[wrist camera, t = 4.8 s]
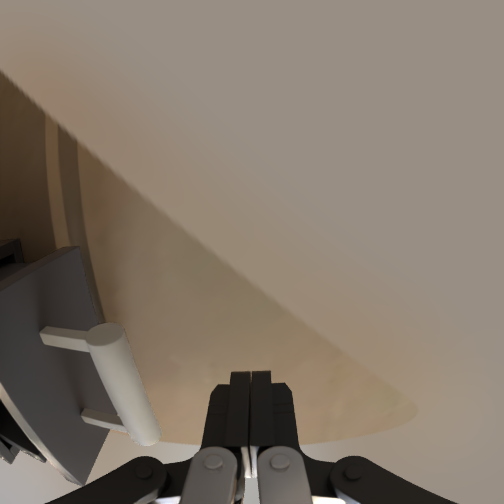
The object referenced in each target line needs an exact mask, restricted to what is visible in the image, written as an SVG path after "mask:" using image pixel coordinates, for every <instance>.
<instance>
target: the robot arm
mask: <svg viewBox="0 0 504 504" xmlns="http://www.w3.org/2000/svg"><path fill="white" fill-rule="evenodd" d="M252 468H253V477H254V478H256V477H257V479H258V489H259V499H260V504H457V503H455V502H452V501H450V500H448V499H445V498H443V497H440V496H438V495H436V494H434V493H431V492H429V491H427V490H425V489H423V488H421V487H418V486H416V485H414V484H412V483H410V482H408V481H406V480H404V479H403V478H401V477H399V476H397V475H395V474H393V473H391V472H389V471H387V470H386V469H383V468H382V467H380V466H378V465H376V464H375V463H373V462H371V461H370V460H368V459H366V458H364V457H361V456H348V457H345V458H342V459H340V460H338V461H337V462H336V463H334V462H325V461H318V460H314V459H312V458H310V457H308V456H306V455H305V454H304V453H303V452H302V450H301V449H300V446H299V442H298V434H297V426H296V419H295V413H294V404H293V397H292V391H291V390H290V389H289V387H288V386H287V385H286V383H271V371H252V379H251V372H250V371H243V372H231V377H230V385H229V384H218V385H217V386H216V388H215V389H214V390H213V391H212V393H211V395H210V401H209V406H208V411H207V417H206V422H205V428H204V433H203V439H202V444H201V448H200V450H199V451H198V452H197V453H196V454H195V455H194V457H192V458H190V459H188V460H186V461H182V462H176V463H169V464H162V462H160V461H159V460H158V459H156V458H153V457H149V456H141V457H137V458H135V459H132V460H131V461H129V462H127V463H126V464H124V465H122V466H120V467H119V468H117V469H116V470H113V471H112V472H110V473H108V474H106V475H104V476H102V477H100V478H99V479H97V480H95V481H93V482H91V483H89V484H87V485H85V486H83V487H81V488H79V489H77V490H75V491H72V492H70V493H68V494H66V495H64V496H62V497H60V498H57V499H55V500H52V501H50V502H48V503H45V504H243V498H244V491H245V478H252Z"/></svg>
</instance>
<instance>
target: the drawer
mask: <svg viewBox="0 0 504 504" xmlns="http://www.w3.org/2000/svg"><path fill="white" fill-rule="evenodd" d="M117 414H118V415H119V416H117ZM110 429H113V430H117V431H122V432H127V433H129V435H130V437H131V438H132V440H133V441H134V442H135V443H137V444H139V445H143V446H148V445H152V444H154V443H156V442H157V441H158V440H159V439H160V438H161V435H162V430H161V428H160V426H159V423H158V421H157V419H156V416H155V414H154V412H153V409H152V407H151V404H150V402H149V400H148V397H147V394H146V392H145V389H144V387H143V384H142V381H141V379H140V376H139V373H138V370H137V367H136V364H135V361H134V358H133V355H132V352H131V349H130V346H129V343H128V340H127V336H126V333H125V329H124V328H123V326H122V325H120V324H117V323H103V324H100V325H99V324H98V321H97V317H96V314H95V311H94V307H93V304H92V300H91V296H90V292H89V288H88V284H87V280H86V276H85V272H84V267H83V263H82V258H81V253H80V248H79V246H71V247H63V248H61V249H59V250H57V251H55V252H53V253H51V254H49V255H47V256H45V257H43V258H41V259H39V260H38V261H36V262H34V263H8V264H0V438H2V439H3V440H5V441H6V442H8V443H9V444H11V445H13V446H14V447H16V448H18V449H19V450H21V451H23V452H24V453H26V454H28V455H30V456H32V457H34V458H35V459H37V460H40V461H41V462H43V463H45V462H46V460H48V461H49V462H50V463H51V464H52V465H53V466H54V468H56V470H57V471H58V472H59V473H60V474H61V475H62V476H63V477H64V478H65V479H66V480H68V481H70V482H72V483H75V484H77V485H80V486H82V487H83V486H85V483H86V481H87V478H88V476H89V474H90V472H91V470H92V467H93V465H94V463H95V461H96V459H97V456H98V454H99V452H100V450H101V448H102V446H103V443H104V441H105V439H106V437H107V435H108V433H109V431H110Z"/></svg>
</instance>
